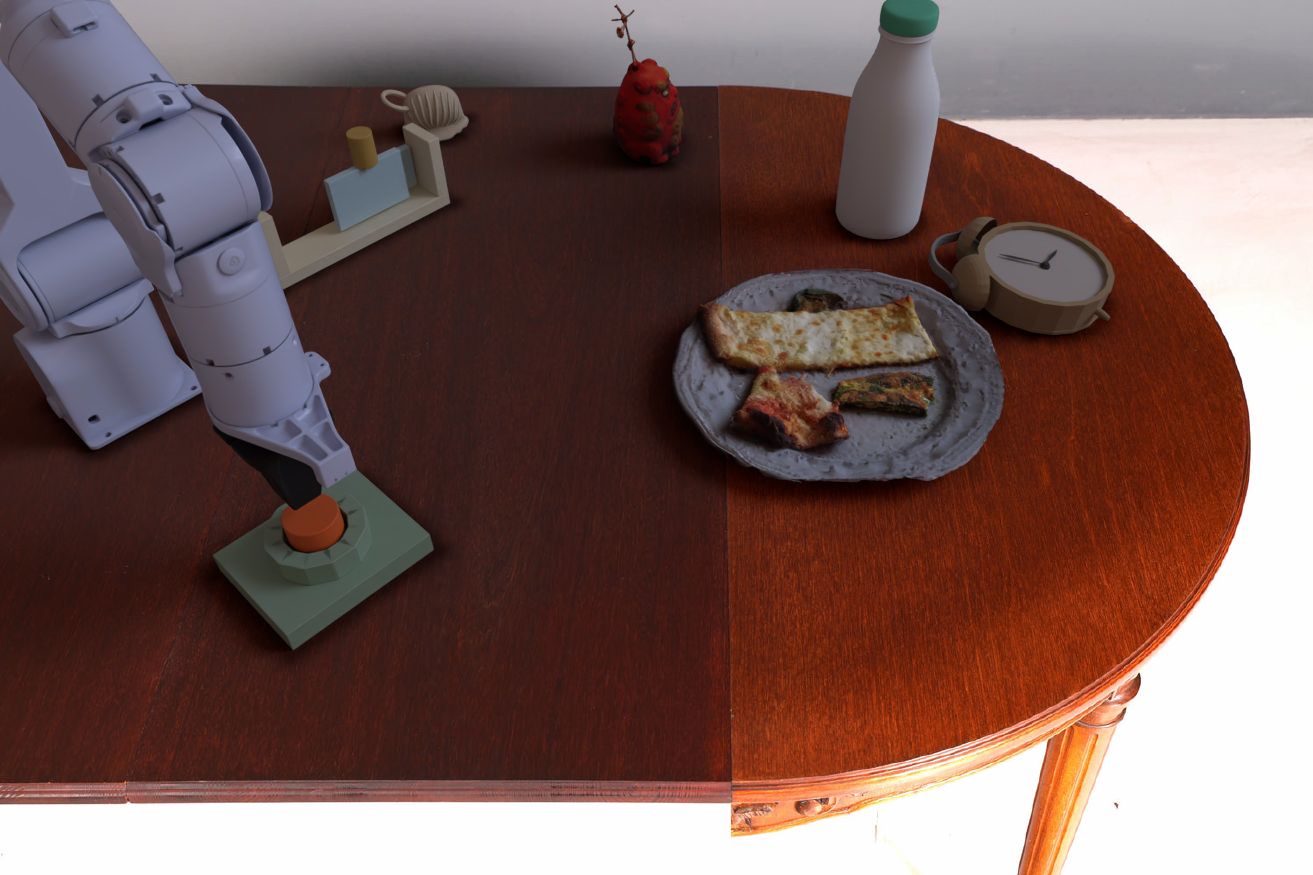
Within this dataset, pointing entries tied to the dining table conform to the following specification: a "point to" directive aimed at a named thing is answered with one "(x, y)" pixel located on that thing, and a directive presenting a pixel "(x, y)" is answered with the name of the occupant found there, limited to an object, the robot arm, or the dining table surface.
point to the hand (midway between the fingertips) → (302, 496)
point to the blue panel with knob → (366, 181)
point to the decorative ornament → (431, 110)
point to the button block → (324, 561)
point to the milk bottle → (891, 126)
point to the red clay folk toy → (646, 109)
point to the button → (313, 524)
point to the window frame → (335, 245)
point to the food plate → (839, 377)
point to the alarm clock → (1027, 275)
